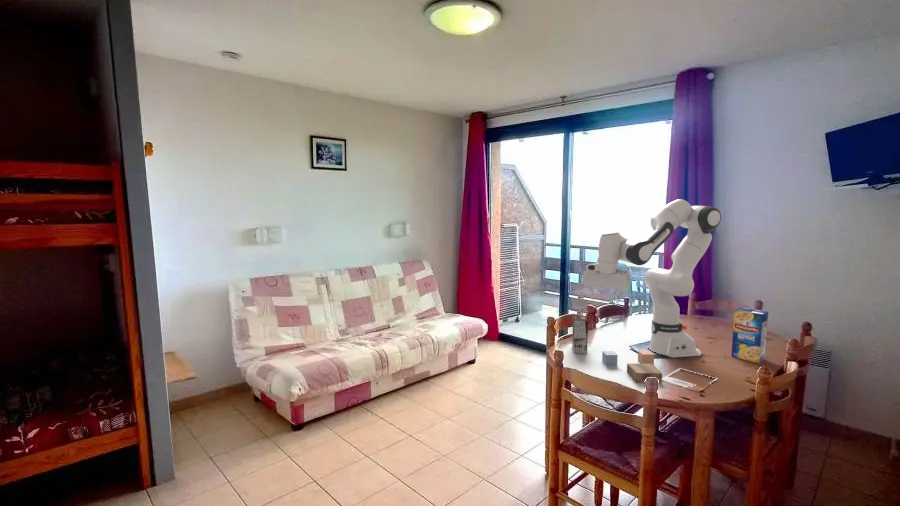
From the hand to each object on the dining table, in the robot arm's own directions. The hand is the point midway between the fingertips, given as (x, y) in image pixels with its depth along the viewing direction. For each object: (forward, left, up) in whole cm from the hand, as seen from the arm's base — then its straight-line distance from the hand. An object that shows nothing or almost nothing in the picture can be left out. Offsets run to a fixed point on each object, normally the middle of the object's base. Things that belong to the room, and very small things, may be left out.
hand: (603, 298), depth 194 cm
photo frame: (-27, +24, -29) cm, 46 cm away
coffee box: (+8, -10, -28) cm, 31 cm away
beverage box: (-65, -1, -28) cm, 71 cm away
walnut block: (-10, +22, -28) cm, 37 cm away
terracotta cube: (-17, +6, -28) cm, 34 cm away
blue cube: (-1, +7, -28) cm, 29 cm away
